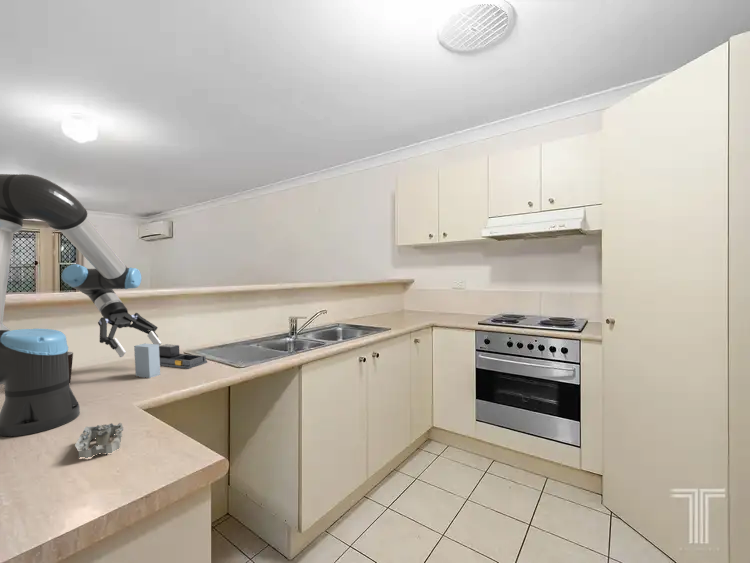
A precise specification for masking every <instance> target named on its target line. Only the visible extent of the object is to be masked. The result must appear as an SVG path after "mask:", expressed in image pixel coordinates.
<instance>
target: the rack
mask: <svg viewBox="0 0 750 563" xmlns="http://www.w3.org/2000/svg"><path fill="white" fill-rule="evenodd" d="M159 357H160V367H168V366H169V367H170V368H177V367H178V369H179V368H180V369H185V368H186V369H188V370H189V368H190V369H192V368H195V367H198V366H201V365H204V364H207V363H208V360H206V359H207V358H206V355H197V354H187V353H180V345H179V344H172V343H171V344H169V343H165V344H161V345H160V346H159ZM186 369H185V370H186Z"/></svg>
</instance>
